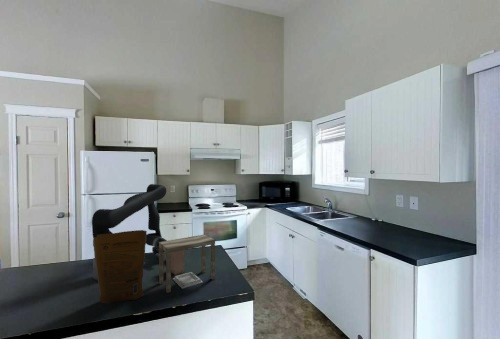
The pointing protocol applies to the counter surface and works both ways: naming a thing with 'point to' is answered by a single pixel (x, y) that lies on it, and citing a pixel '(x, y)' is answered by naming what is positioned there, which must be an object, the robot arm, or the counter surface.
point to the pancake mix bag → (120, 265)
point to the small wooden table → (184, 245)
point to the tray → (187, 280)
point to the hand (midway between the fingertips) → (169, 251)
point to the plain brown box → (177, 262)
